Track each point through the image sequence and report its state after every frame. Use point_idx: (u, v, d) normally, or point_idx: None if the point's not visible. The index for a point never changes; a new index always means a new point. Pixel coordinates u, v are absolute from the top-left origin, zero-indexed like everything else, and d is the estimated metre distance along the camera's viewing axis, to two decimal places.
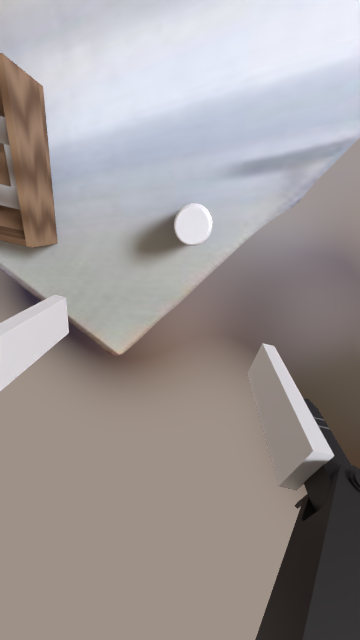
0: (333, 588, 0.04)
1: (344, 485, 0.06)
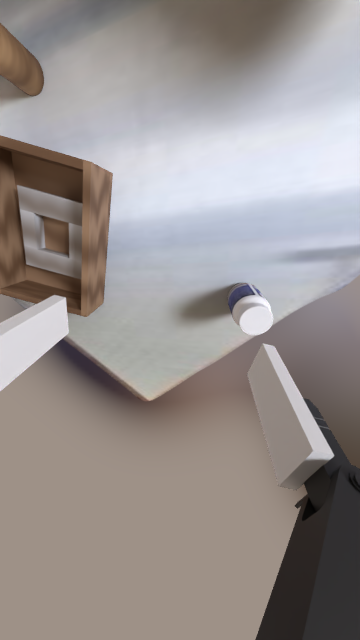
0: (333, 588, 0.04)
1: (344, 486, 0.06)
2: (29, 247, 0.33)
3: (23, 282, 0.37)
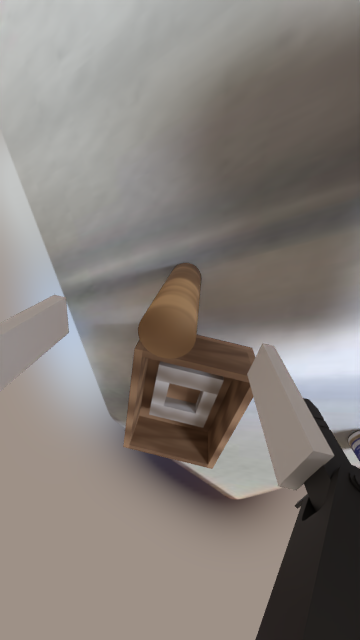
0: (333, 588, 0.04)
1: (344, 486, 0.06)
2: (156, 403, 0.34)
3: (139, 423, 0.37)
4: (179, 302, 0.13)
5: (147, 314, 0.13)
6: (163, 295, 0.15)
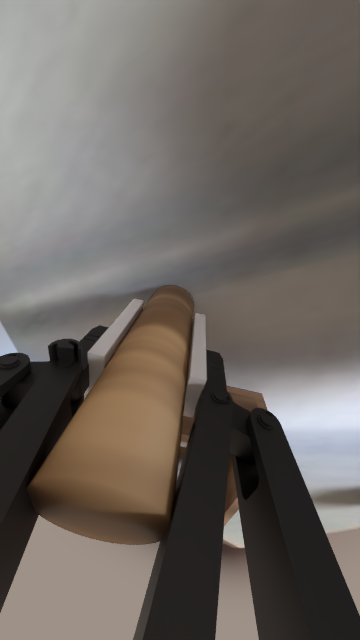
0: (194, 481, 0.05)
1: (207, 403, 0.08)
2: None
3: None
4: (132, 428, 0.05)
5: (37, 482, 0.05)
6: (104, 390, 0.07)
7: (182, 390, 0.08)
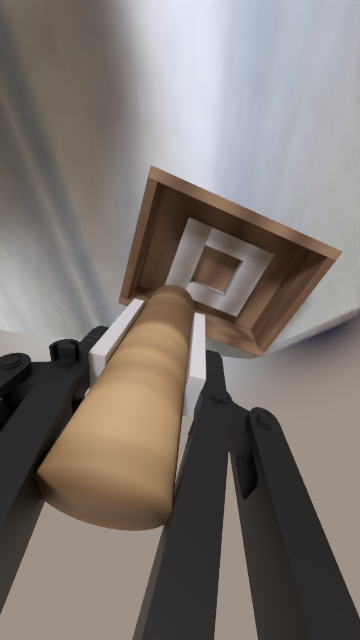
0: (193, 480, 0.05)
1: (206, 403, 0.08)
2: (220, 304, 0.29)
3: (253, 331, 0.32)
4: (134, 419, 0.06)
5: (45, 468, 0.05)
6: (107, 384, 0.07)
7: (182, 385, 0.09)
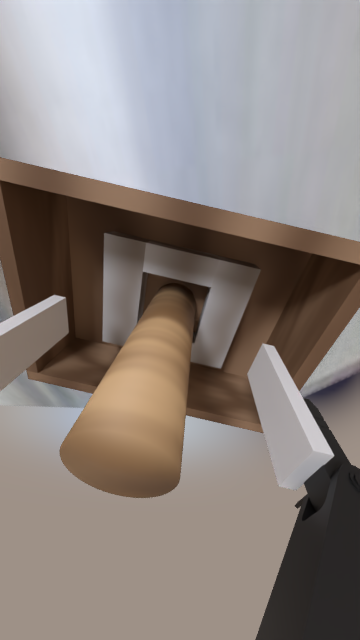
0: (333, 588, 0.04)
1: (344, 485, 0.06)
2: (191, 353, 0.19)
3: None
4: (146, 397, 0.07)
5: (72, 436, 0.06)
6: (121, 369, 0.08)
7: (186, 373, 0.09)
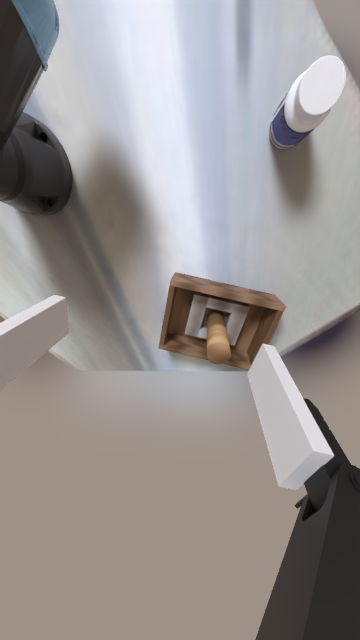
0: (333, 588, 0.04)
1: (344, 485, 0.06)
2: None
3: (248, 353, 0.47)
4: (223, 341, 0.33)
5: (211, 346, 0.32)
6: (215, 336, 0.34)
7: None
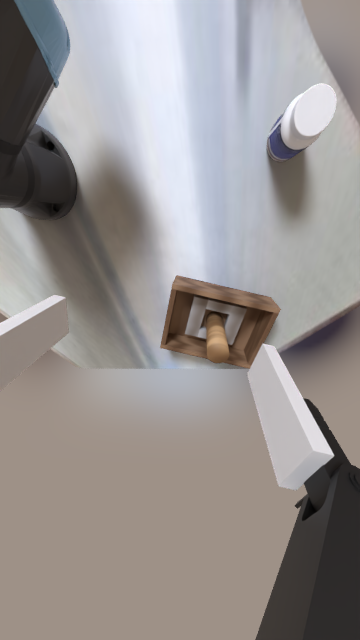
0: (333, 588, 0.04)
1: (344, 485, 0.06)
2: None
3: (245, 352, 0.49)
4: (222, 341, 0.35)
5: (211, 347, 0.35)
6: (214, 337, 0.37)
7: (226, 339, 0.38)
